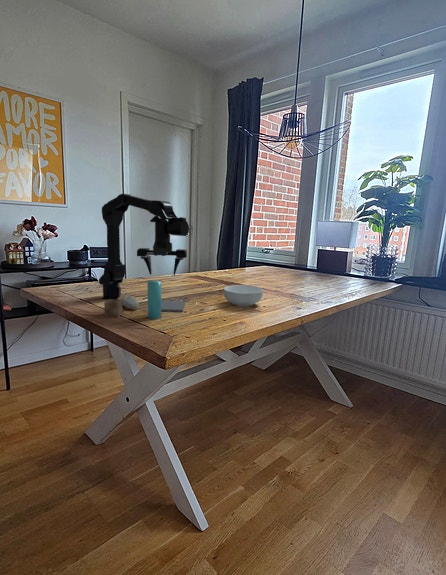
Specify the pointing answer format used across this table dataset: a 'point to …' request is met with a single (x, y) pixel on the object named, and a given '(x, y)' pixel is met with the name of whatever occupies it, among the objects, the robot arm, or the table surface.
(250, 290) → the cereal bowl
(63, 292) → the table surface
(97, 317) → the table surface
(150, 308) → the teal tall cylinder
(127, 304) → the decorative stone
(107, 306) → the walnut block
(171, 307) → the charcoal mat
